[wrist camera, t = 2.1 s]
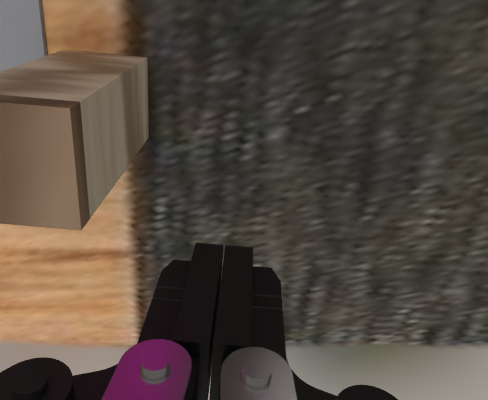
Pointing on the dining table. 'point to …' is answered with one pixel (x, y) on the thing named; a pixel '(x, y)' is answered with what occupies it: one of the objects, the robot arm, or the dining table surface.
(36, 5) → the mat
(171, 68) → the dining table surface
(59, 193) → the birch block
